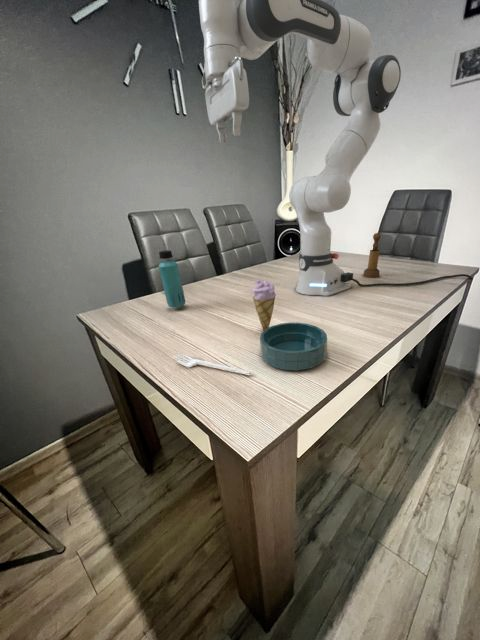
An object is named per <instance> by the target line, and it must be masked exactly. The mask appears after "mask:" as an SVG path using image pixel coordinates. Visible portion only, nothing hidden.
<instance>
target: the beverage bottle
mask: <svg viewBox="0 0 480 640" xmlns="http://www.w3.org/2000/svg"><path fill="white" fill-rule="evenodd" d="M158 255H159V259H161V260H163V261H161V262H160V263H159V264H158V269H159V274H160V277H161V283H162V286H163V287H162V288H163V291H164V297H165V299H166V300H165V301H166V304H167V306H168V307H169V308H180V307H183V306H185V305H186V298H185V292H184V288H183V284H182V278H181V273H180V270H179V264H178V262H176V261H175V260H172V258H173V257H174V256H173V252H172V250H170V249H169V250H167V249H166V250H160V251H159V252H158ZM165 259H171V260H165Z"/></svg>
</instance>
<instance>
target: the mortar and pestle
mask: <svg viewBox="0 0 480 640" xmlns="http://www.w3.org/2000/svg"><path fill="white" fill-rule="evenodd" d="M381 236H382V235H381V233H380V232H375V233H374V234H373V235H372V238H373V241H374V242H373V244H372V249H370V250H369V257H368V263H367V268H366V269H364V270H363V277H364V278H369V279H374V278H375V279H376V278H379V277H380V272H381V271H380V270H379V268H378V264H379V258H380V251H381V250H380V249H378V247H379V241H380V239H381Z"/></svg>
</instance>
